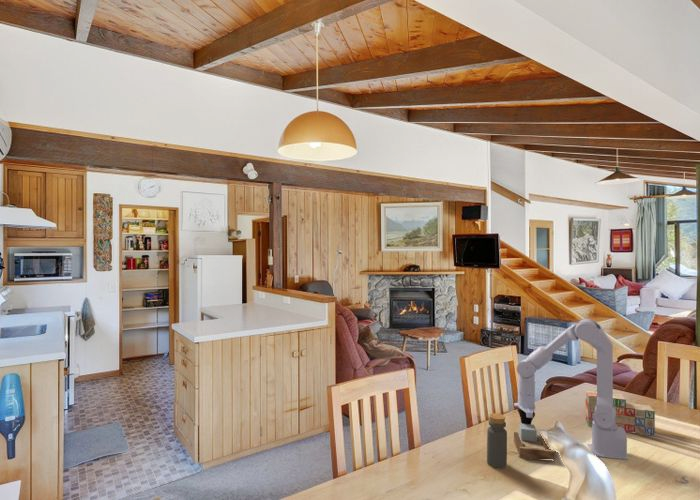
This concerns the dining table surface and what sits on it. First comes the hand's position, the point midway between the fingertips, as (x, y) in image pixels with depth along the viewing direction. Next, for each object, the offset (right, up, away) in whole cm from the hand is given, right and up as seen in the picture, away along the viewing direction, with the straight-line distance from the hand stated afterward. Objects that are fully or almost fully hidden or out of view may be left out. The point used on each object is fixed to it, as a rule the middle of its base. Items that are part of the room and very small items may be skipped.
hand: (525, 429), depth 152 cm
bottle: (-19, -1, -22) cm, 29 cm away
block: (-1, -1, -4) cm, 4 cm away
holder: (-3, -1, -13) cm, 13 cm away
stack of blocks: (+38, -2, +6) cm, 38 cm away
